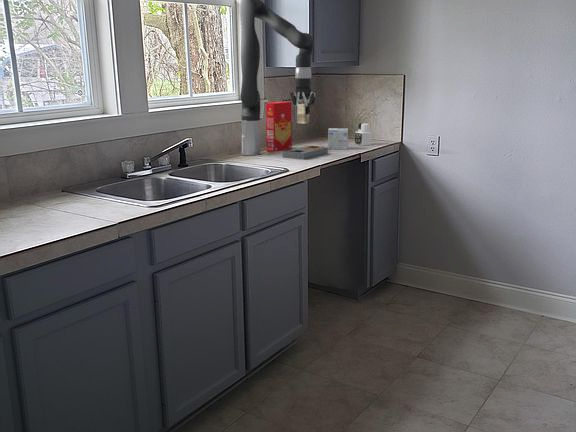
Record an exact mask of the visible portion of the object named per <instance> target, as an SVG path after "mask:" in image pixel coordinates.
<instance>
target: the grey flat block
mask: <svg viewBox="0 0 576 432" xmlns="http://www.w3.org/2000/svg"><path fill="white" fill-rule="evenodd" d="M328 154H329V149H328V146H327V147H325V146H324V145H323V146H322V145H305V146H301V147H295V148H292V149H285V150H282V158H284V159H285V158H286V159H294V160H303V161H305V160H308V159H312V158H316V157H320V156H324V155H328Z"/></svg>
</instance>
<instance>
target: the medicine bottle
mask: <svg viewBox="0 0 576 432" xmlns="http://www.w3.org/2000/svg"><path fill="white" fill-rule="evenodd" d="M354 145H357V146H372V145H373V132H372V131H370V123H368V122H360V123H358V130H357V131H355V133H354Z"/></svg>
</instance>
